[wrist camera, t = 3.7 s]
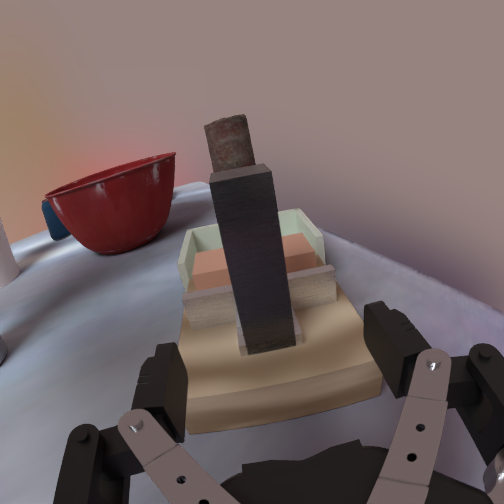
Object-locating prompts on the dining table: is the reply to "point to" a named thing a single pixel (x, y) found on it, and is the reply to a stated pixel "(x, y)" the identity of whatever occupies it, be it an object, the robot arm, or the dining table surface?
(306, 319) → the curved wooden platform
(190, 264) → the tray
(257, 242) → the dark piece
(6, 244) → the canister
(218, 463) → the dining table surface
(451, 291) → the dining table surface
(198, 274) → the tile
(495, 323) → the dining table surface
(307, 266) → the tile
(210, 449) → the dining table surface
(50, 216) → the soda can
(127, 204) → the mixing bowl
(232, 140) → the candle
